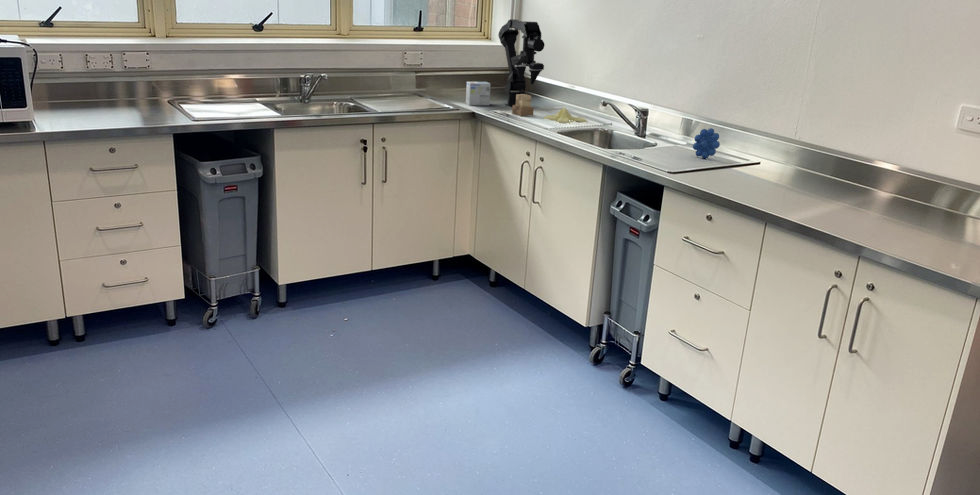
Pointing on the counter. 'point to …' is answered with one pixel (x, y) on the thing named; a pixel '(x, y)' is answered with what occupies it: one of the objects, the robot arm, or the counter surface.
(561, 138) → the counter surface
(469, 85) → the light bulb box
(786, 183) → the counter surface
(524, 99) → the oak cube
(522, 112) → the walnut base block
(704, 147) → the blue flower shape
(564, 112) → the cloth
